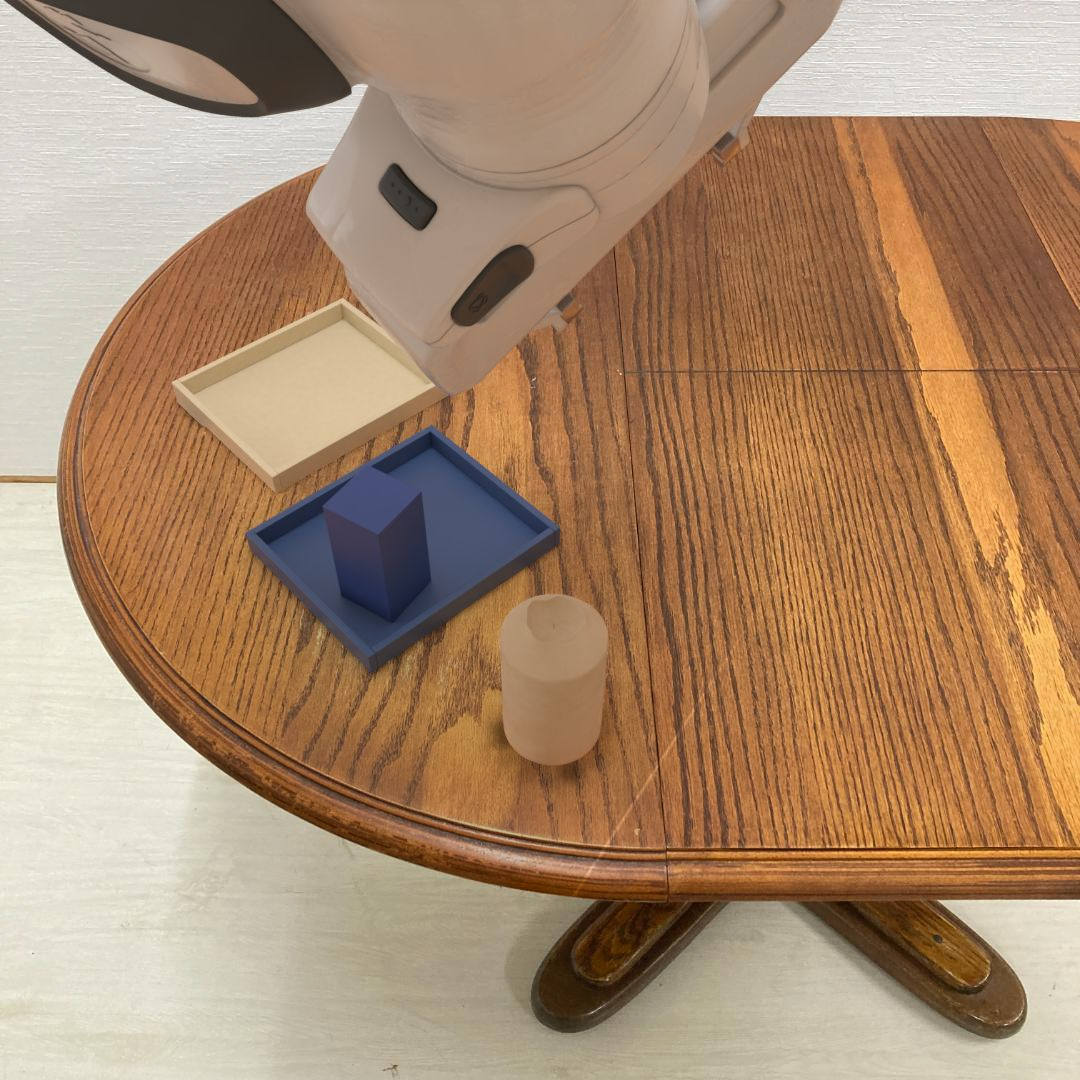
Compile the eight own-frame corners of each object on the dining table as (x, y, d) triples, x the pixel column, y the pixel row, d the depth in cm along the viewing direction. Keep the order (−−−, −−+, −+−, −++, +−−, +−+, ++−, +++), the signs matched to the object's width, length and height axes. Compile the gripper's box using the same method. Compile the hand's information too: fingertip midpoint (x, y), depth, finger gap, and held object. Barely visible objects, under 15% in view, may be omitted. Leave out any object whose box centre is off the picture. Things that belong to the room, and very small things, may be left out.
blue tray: (372, 677, 65) (368, 657, 63) (250, 553, 71) (244, 532, 70) (560, 548, 71) (560, 527, 70) (433, 445, 78) (431, 424, 76)
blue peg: (392, 623, 67) (378, 534, 61) (340, 595, 68) (322, 506, 62) (431, 580, 69) (422, 490, 63) (381, 554, 70) (366, 464, 64)
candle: (555, 788, 60) (558, 683, 52) (483, 729, 62) (476, 620, 55) (621, 724, 63) (632, 615, 55) (548, 669, 65) (550, 558, 58)
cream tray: (277, 498, 74) (272, 477, 73) (177, 403, 81) (171, 382, 79) (450, 399, 81) (448, 378, 80) (346, 318, 87) (342, 297, 86)
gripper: (738, -266, 32) (771, -7, 46) (267, 244, 35) (426, 348, 49) (895, -142, 31) (882, 89, 44) (389, 379, 34) (519, 449, 47)
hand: (640, 228), depth 46 cm, fingers open, 8 cm apart
